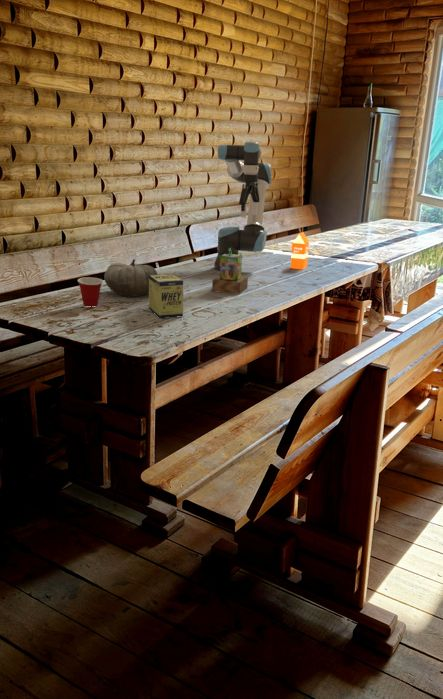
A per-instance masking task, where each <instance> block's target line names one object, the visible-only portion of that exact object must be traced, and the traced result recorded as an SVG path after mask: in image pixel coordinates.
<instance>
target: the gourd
mask: <svg viewBox="0 0 443 699" xmlns="http://www.w3.org/2000/svg"><path fill="white" fill-rule="evenodd" d="M135 262H136V258H133V259H132V261H131V263H130V264H126V263H122V262H115V263H111V264H110V265H109V266H108V268H107V269H106V270H105V272H104V275H103V277H104V278H103V279H104V280H103V281H104V282H105V284H106V285H107V287H108V288H109V289H110V290H111V291H113V292H114V293H115V294H117V295H121V296H123V297H127V296H129V297H134V296H137V297H138V296H143V295H149V275H158V271H157V270H156V269H155V268H154V267H153V266H151V265H149V264H139V263H138V264H137V263H136V264H135Z"/></svg>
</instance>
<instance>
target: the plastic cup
mask: <svg viewBox="0 0 443 699" xmlns="http://www.w3.org/2000/svg"><path fill="white" fill-rule="evenodd" d="M77 282H78V285H79V289H80V295H81V299H82V303H83V307H84V306H91V307H92V306H97V305H99V300H100V293H101V288H102V284H103V282H104V280H103V279H102V278H98V277H90V276H87V277H85V276H84V277H80V278H78V279H77ZM97 307H98V306H97Z"/></svg>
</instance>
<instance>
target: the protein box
mask: <svg viewBox="0 0 443 699" xmlns="http://www.w3.org/2000/svg"><path fill="white" fill-rule="evenodd" d="M149 309H150V310H151V311H152V312H151V311H150V310H149ZM148 310H149V311H150V312H151V313H153V314H154V313H155V314H156V315H157V316H158V317H159V318H158V317H157V316H156V315H155V314H154V315H155V316H156V317H157V318H158V319H160V318H161V319H166V318H165V317H173V318H178V317H177V316H183V317H184V280H182V279H181V278H179V277H178V276H176V275H174V274H173V273H161V274H159V273H157V275H149V294H148Z"/></svg>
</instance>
